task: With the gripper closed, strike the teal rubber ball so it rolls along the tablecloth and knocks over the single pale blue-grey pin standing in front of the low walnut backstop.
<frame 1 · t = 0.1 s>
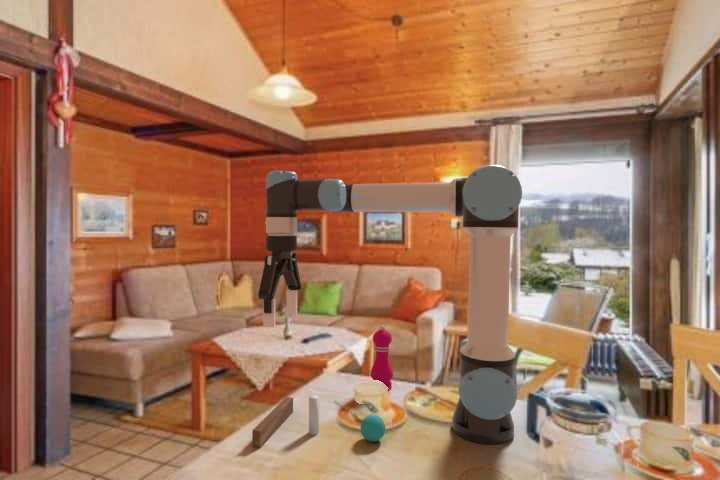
hand: (281, 320, 108), 28 cm above the table, tool pointing down, fingers open, 13 cm apart
pin: (313, 432, 108), on the table
pepper mill: (381, 388, 139), on the table
ball: (372, 427, 105), on the table
backstop: (274, 428, 111), on the table
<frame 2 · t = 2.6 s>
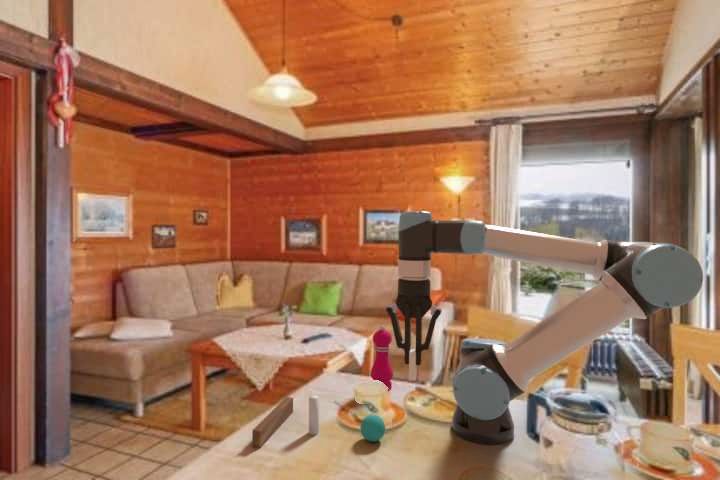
hand: (412, 377, 102), 16 cm above the table, tool pointing down, fingers closed
nothing on the table moved.
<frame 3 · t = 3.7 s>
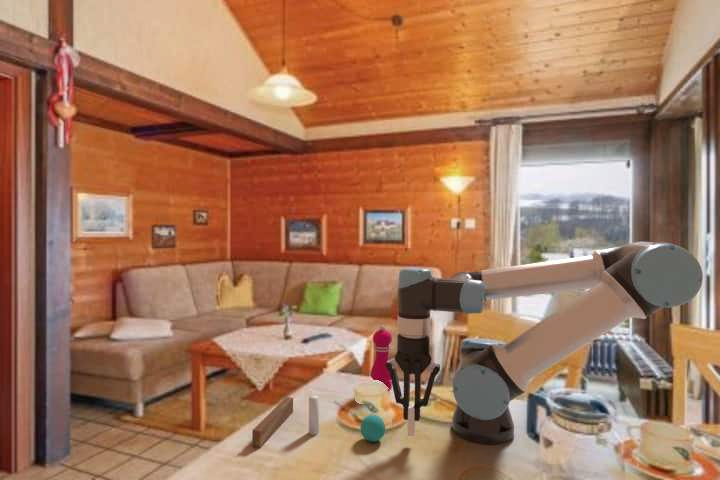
hand: (411, 433, 103), 3 cm above the table, tool pointing down, fingers closed
nothing on the table moved.
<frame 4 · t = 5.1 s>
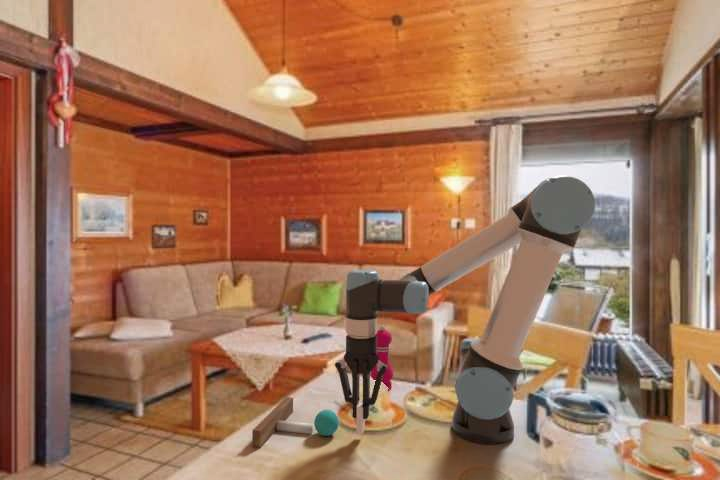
hand: (360, 430, 106), 2 cm above the table, tool pointing down, fingers closed
pin: (312, 429, 108), point 1 cm above the table, tilted 90°
ball: (326, 422, 108), on the table
everything else where it was.
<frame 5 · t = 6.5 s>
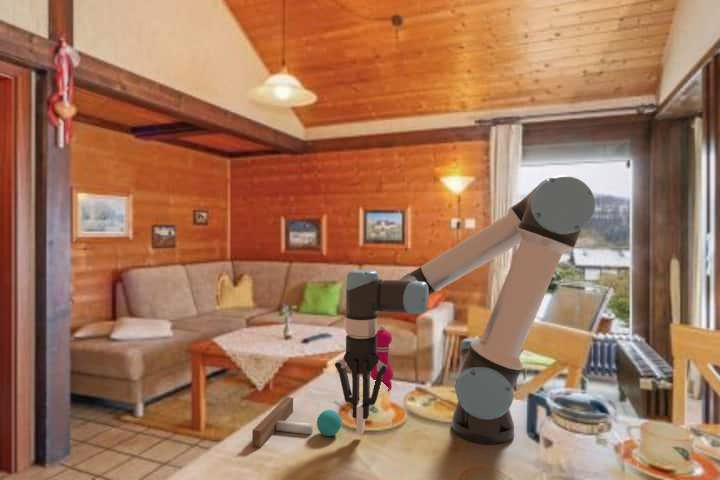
hand: (360, 430, 106), 2 cm above the table, tool pointing down, fingers closed
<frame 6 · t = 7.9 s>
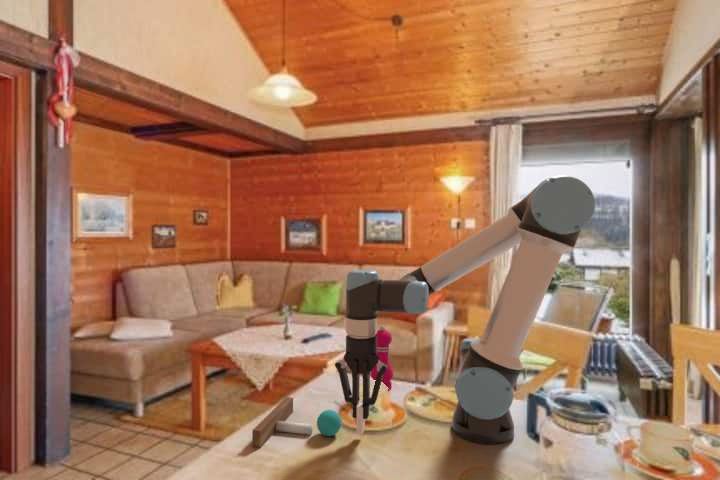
hand: (360, 430, 106), 2 cm above the table, tool pointing down, fingers closed
nothing on the table moved.
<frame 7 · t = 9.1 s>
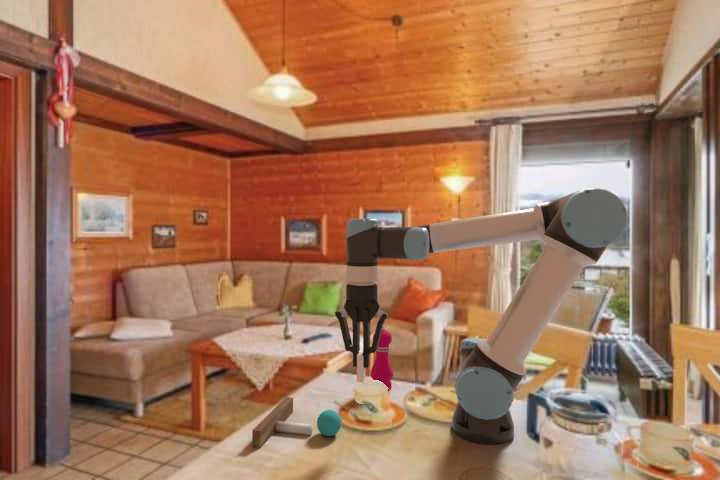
hand: (361, 380, 105), 14 cm above the table, tool pointing down, fingers closed
nothing on the table moved.
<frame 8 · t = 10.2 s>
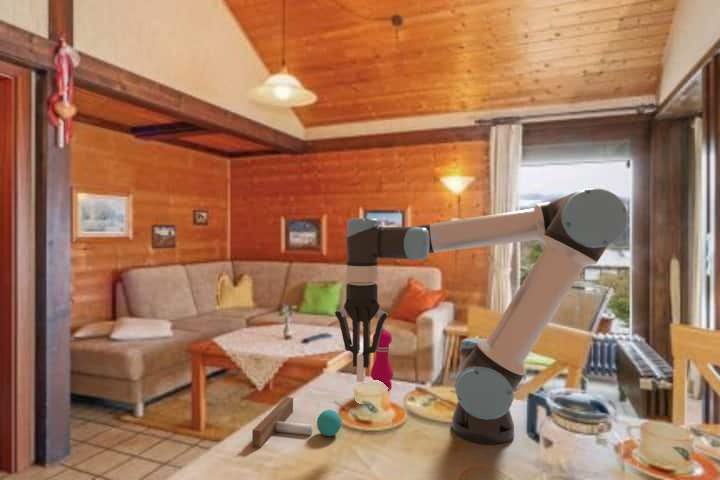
hand: (361, 380, 105), 14 cm above the table, tool pointing down, fingers closed
nothing on the table moved.
at the end: pin tilted 90°; pin never touched the robot; ball moved 11.0 cm from its start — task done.
